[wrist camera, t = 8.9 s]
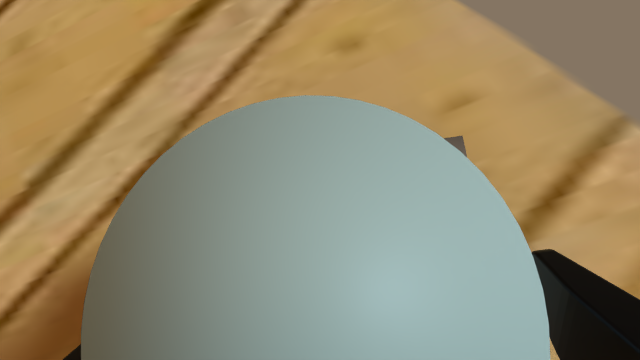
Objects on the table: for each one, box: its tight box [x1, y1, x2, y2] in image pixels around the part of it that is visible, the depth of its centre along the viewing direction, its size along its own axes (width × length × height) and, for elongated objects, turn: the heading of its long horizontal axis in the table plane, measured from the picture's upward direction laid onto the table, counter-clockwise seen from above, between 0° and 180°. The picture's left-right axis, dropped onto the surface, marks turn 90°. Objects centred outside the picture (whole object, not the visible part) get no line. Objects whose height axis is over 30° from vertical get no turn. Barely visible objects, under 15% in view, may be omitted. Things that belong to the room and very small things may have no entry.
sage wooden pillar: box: [81, 95, 550, 360], centre depth 11 cm, size 6×6×13 cm
